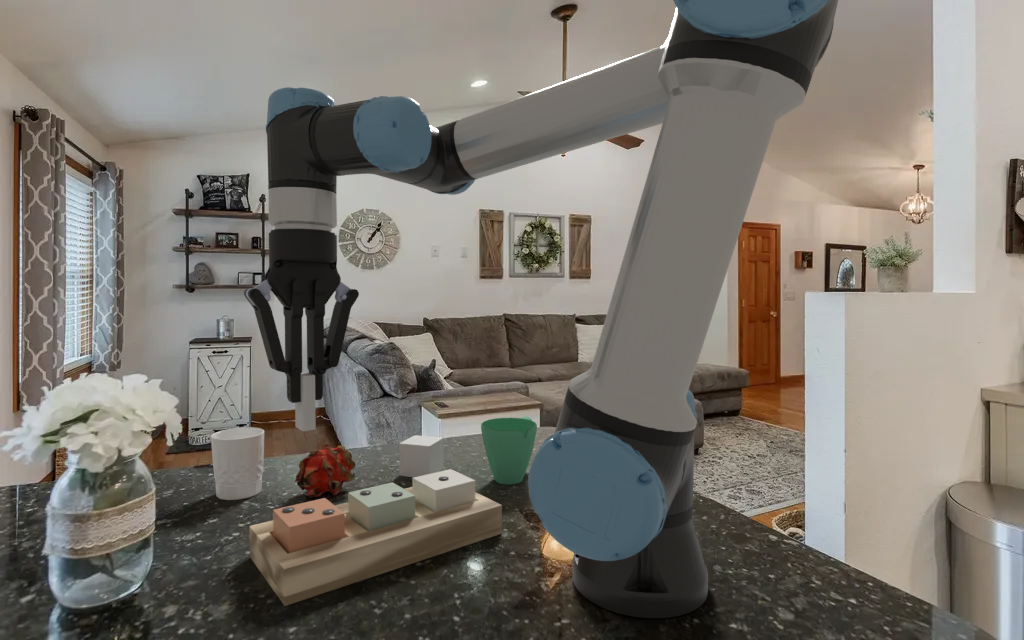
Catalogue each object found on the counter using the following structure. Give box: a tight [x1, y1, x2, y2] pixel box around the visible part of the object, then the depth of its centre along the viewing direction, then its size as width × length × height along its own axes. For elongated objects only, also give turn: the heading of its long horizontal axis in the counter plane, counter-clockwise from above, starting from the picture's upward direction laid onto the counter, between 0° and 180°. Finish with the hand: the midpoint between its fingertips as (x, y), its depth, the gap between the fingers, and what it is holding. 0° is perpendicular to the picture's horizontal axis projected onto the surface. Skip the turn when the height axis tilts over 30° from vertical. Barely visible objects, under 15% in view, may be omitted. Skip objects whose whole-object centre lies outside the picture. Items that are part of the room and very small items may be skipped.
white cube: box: [398, 434, 445, 478], centre depth 104 cm, size 6×6×6 cm
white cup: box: [210, 426, 265, 501], centre depth 93 cm, size 8×8×10 cm
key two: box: [347, 482, 415, 531], centre depth 75 cm, size 6×6×4 cm
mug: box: [480, 416, 538, 486], centre depth 102 cm, size 15×10×10 cm
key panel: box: [249, 486, 503, 607], centre depth 75 cm, size 14×29×4 cm, turn 128°
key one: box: [411, 468, 476, 512], centre depth 80 cm, size 6×6×4 cm
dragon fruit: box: [294, 443, 356, 499], centre depth 93 cm, size 8×8×12 cm
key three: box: [272, 497, 345, 554], centre depth 69 cm, size 6×6×4 cm
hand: (305, 428), depth 68 cm, fingers closed
